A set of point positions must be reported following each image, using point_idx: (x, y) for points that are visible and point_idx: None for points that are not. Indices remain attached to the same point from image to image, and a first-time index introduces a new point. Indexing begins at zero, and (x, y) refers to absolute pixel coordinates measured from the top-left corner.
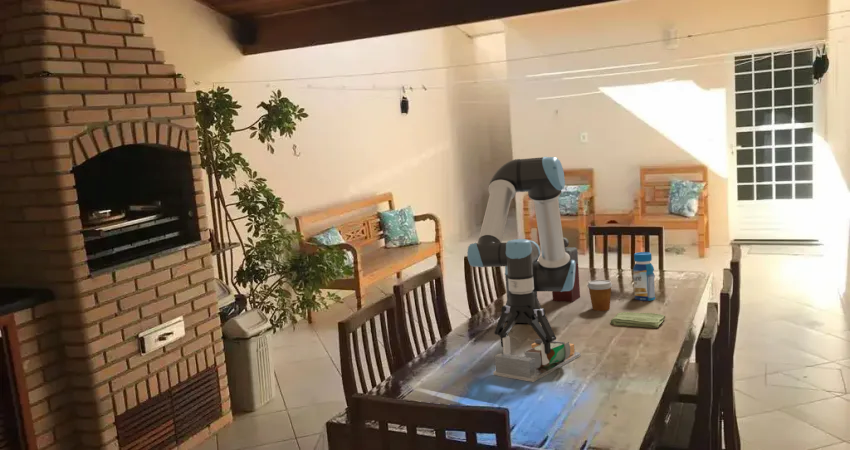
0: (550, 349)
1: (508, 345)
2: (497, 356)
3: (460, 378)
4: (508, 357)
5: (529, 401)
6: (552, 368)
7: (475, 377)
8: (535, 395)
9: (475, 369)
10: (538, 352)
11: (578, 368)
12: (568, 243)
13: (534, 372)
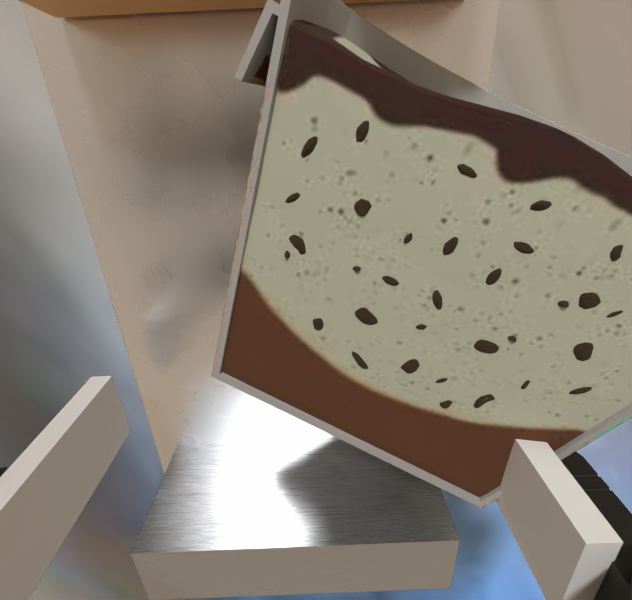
0: (595, 475)
1: (53, 481)
2: (173, 597)
3: (88, 557)
4: (262, 588)
5: (515, 596)
6: None
7: (131, 526)
8: (512, 556)
9: (17, 455)
10: (440, 469)
11: (621, 120)
12: None
13: None
